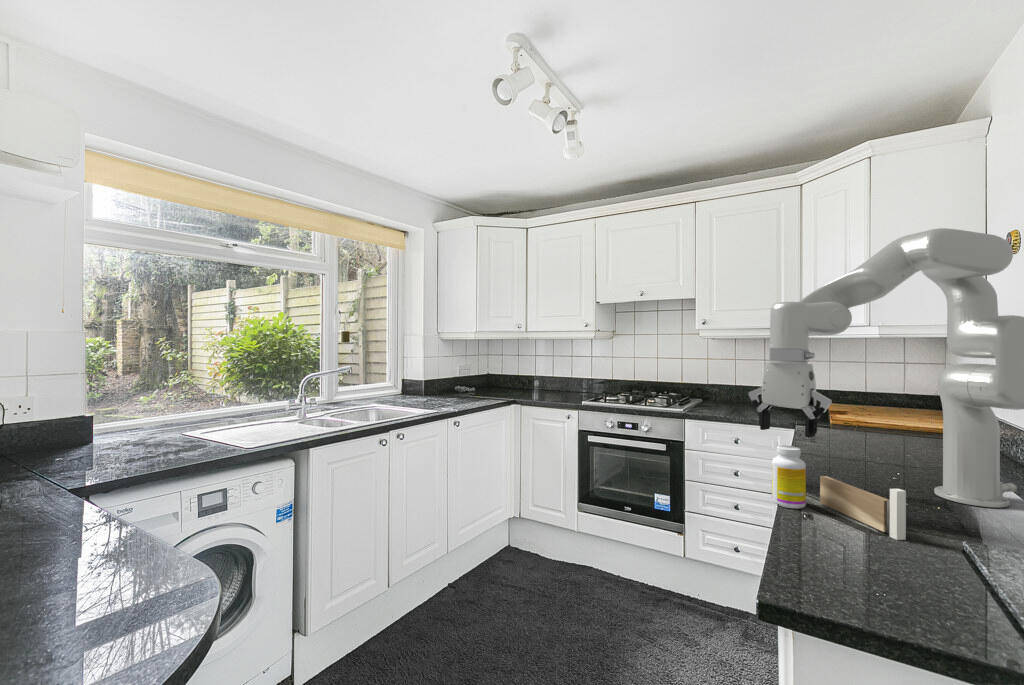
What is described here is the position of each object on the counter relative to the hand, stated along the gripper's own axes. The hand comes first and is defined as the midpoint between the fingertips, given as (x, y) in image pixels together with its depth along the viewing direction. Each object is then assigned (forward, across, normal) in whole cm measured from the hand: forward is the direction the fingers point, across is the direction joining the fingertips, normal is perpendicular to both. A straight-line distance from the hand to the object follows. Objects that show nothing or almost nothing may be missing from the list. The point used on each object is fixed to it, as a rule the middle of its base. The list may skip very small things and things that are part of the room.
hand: (786, 432), depth 107 cm
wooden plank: (+16, -12, -3) cm, 20 cm away
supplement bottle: (+16, 0, -1) cm, 16 cm away
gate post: (+16, -21, +2) cm, 26 cm away
